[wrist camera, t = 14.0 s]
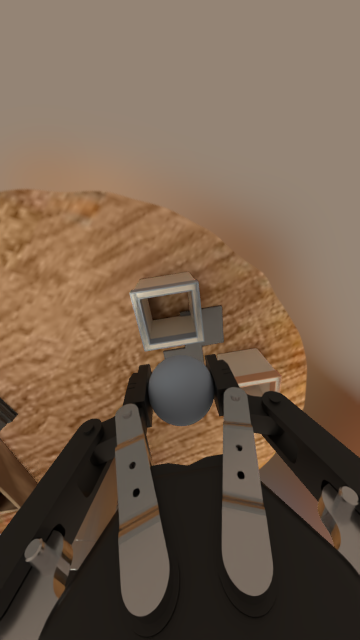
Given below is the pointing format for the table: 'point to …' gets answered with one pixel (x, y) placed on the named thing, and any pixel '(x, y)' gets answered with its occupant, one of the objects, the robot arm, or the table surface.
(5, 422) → the dark grey long bar
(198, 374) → the ball slate
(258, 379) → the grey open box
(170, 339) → the tube slate rim
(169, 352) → the coasters
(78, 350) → the table surface
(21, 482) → the tray
